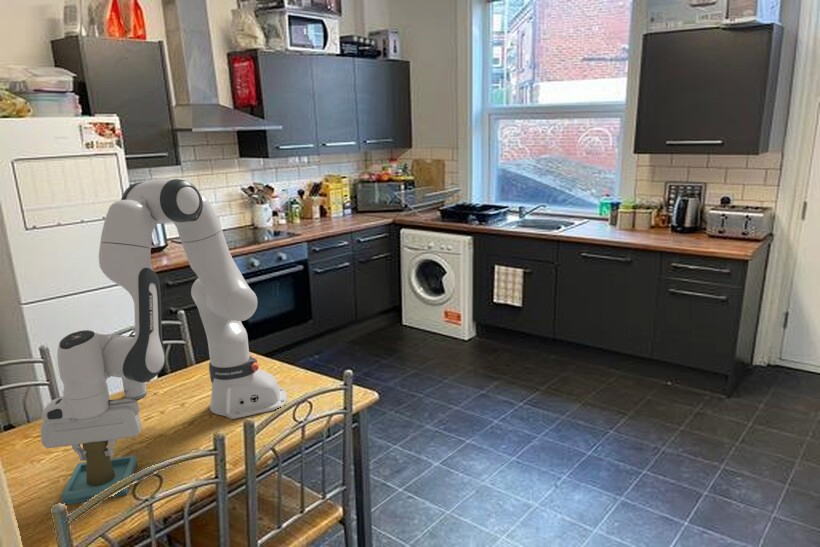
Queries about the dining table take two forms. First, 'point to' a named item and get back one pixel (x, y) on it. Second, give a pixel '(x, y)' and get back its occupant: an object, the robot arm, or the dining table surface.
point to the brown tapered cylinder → (98, 464)
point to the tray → (82, 491)
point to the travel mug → (134, 388)
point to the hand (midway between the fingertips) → (97, 457)
